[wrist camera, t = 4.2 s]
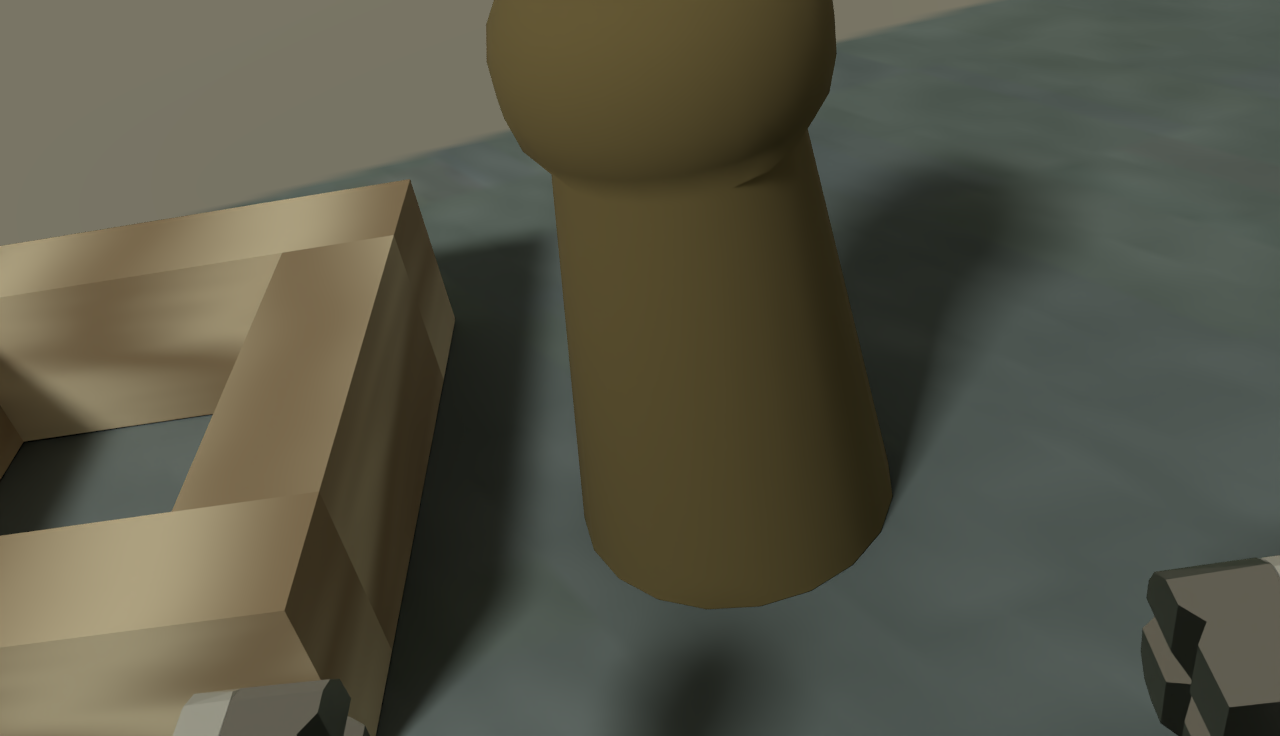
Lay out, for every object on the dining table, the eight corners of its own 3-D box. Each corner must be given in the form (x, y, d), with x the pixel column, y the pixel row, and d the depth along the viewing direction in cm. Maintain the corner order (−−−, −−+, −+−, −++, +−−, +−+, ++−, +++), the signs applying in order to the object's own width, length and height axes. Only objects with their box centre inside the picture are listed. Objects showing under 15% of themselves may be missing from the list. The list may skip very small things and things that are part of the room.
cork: (578, 420, 26) (443, -92, 19) (853, 369, 26) (811, -167, 19) (591, 635, 21) (416, 49, 14) (930, 575, 21) (909, -48, 14)
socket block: (455, 319, 30) (409, 179, 28) (369, 771, 20) (284, 610, 17) (-29, 392, 31) (-112, 264, 29) (-352, 855, 21) (-525, 715, 18)
